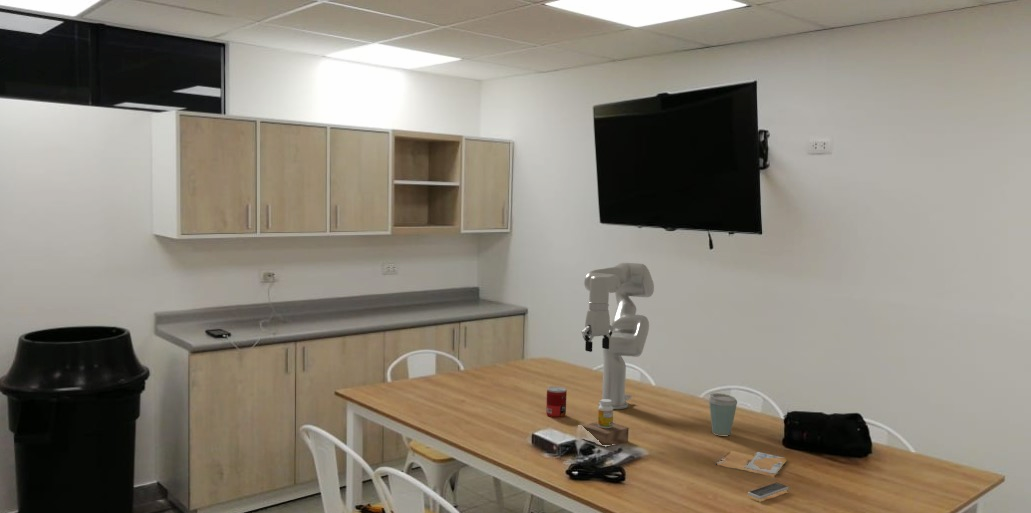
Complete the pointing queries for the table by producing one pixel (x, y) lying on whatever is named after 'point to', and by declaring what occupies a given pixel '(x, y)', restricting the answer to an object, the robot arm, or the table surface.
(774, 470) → the snack bag
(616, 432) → the walnut base
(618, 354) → the robot arm
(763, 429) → the table surface
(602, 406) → the supplement bottle
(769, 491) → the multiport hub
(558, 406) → the canned food
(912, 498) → the table surface
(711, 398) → the disposable coffee cup
